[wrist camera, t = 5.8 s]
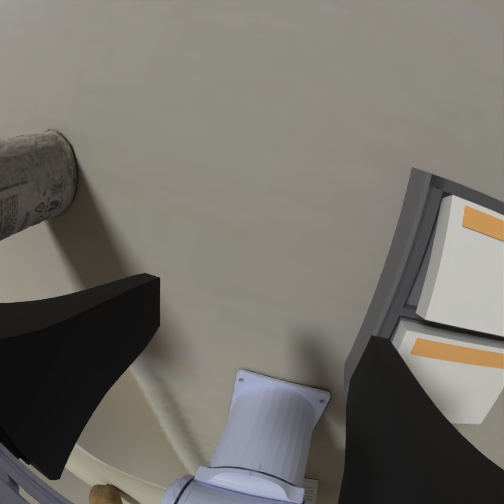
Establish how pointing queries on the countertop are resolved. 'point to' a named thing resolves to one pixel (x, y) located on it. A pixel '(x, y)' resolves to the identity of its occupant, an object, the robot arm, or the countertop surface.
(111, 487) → the brown potato
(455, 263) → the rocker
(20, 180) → the spray can
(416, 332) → the panel
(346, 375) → the grey divided tray
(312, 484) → the container
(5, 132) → the countertop surface
